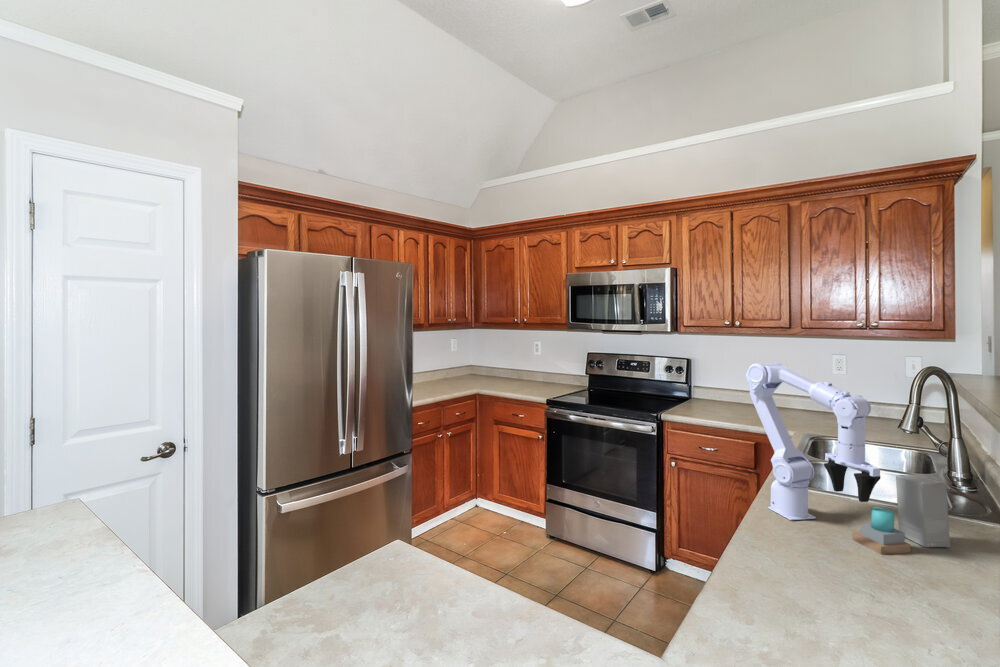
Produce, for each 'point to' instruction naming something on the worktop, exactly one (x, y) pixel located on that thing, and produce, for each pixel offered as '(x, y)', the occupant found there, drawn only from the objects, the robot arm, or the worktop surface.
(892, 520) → the teal cylinder
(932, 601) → the worktop surface
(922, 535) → the skincare box
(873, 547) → the walnut base slab
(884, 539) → the slate top slab
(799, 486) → the robot arm
